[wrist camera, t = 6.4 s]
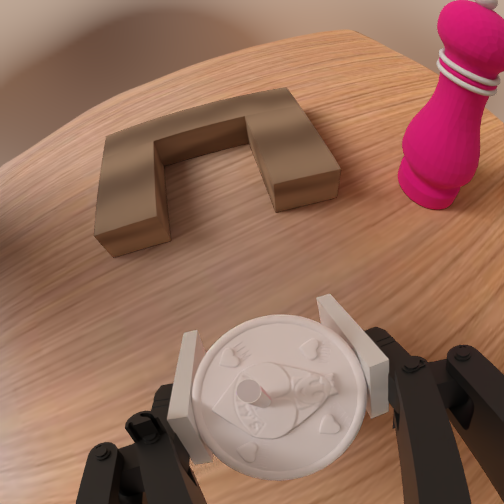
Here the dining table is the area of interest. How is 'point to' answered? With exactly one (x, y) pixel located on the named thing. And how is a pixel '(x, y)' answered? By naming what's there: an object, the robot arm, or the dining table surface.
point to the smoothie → (279, 397)
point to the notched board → (203, 142)
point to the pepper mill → (454, 105)
